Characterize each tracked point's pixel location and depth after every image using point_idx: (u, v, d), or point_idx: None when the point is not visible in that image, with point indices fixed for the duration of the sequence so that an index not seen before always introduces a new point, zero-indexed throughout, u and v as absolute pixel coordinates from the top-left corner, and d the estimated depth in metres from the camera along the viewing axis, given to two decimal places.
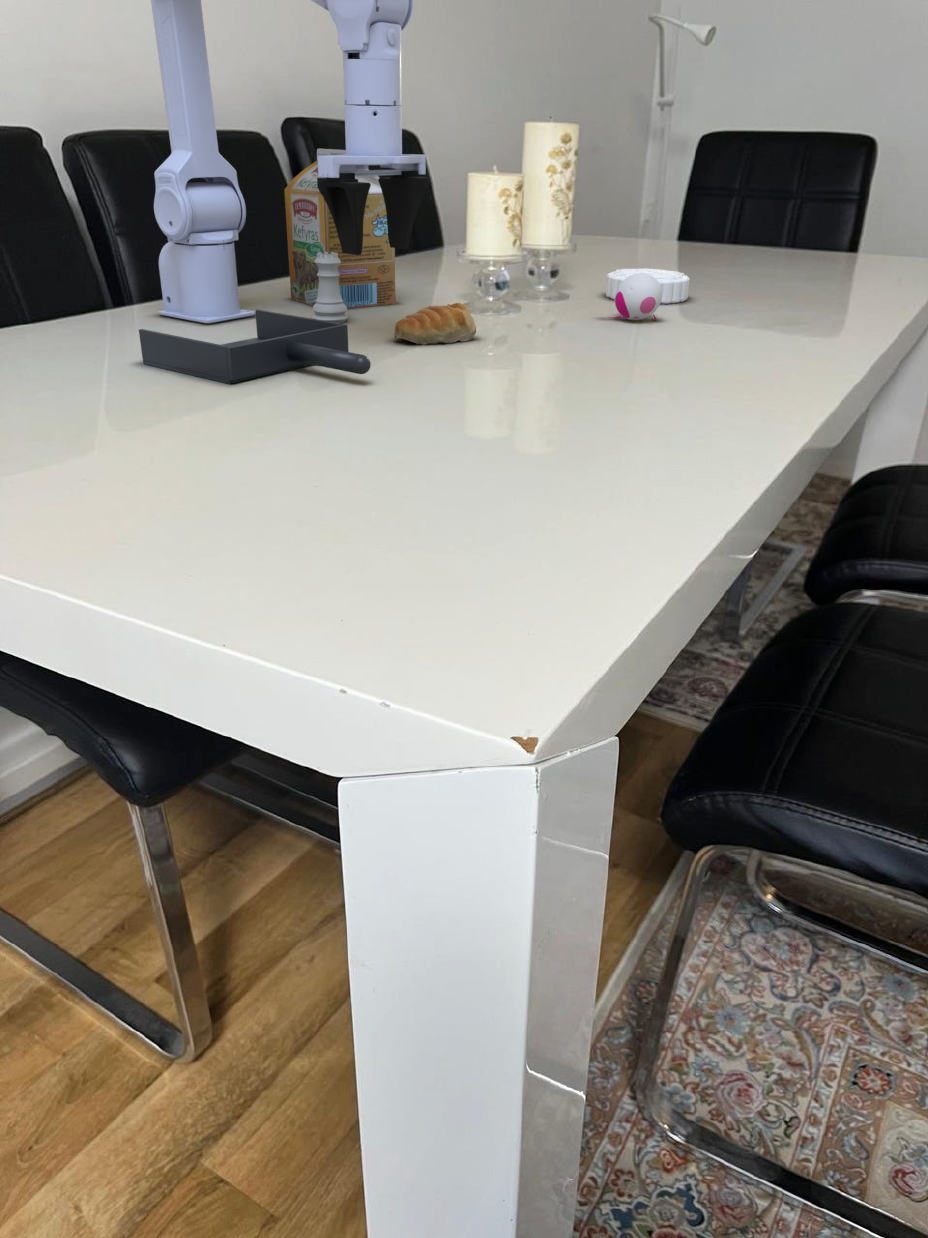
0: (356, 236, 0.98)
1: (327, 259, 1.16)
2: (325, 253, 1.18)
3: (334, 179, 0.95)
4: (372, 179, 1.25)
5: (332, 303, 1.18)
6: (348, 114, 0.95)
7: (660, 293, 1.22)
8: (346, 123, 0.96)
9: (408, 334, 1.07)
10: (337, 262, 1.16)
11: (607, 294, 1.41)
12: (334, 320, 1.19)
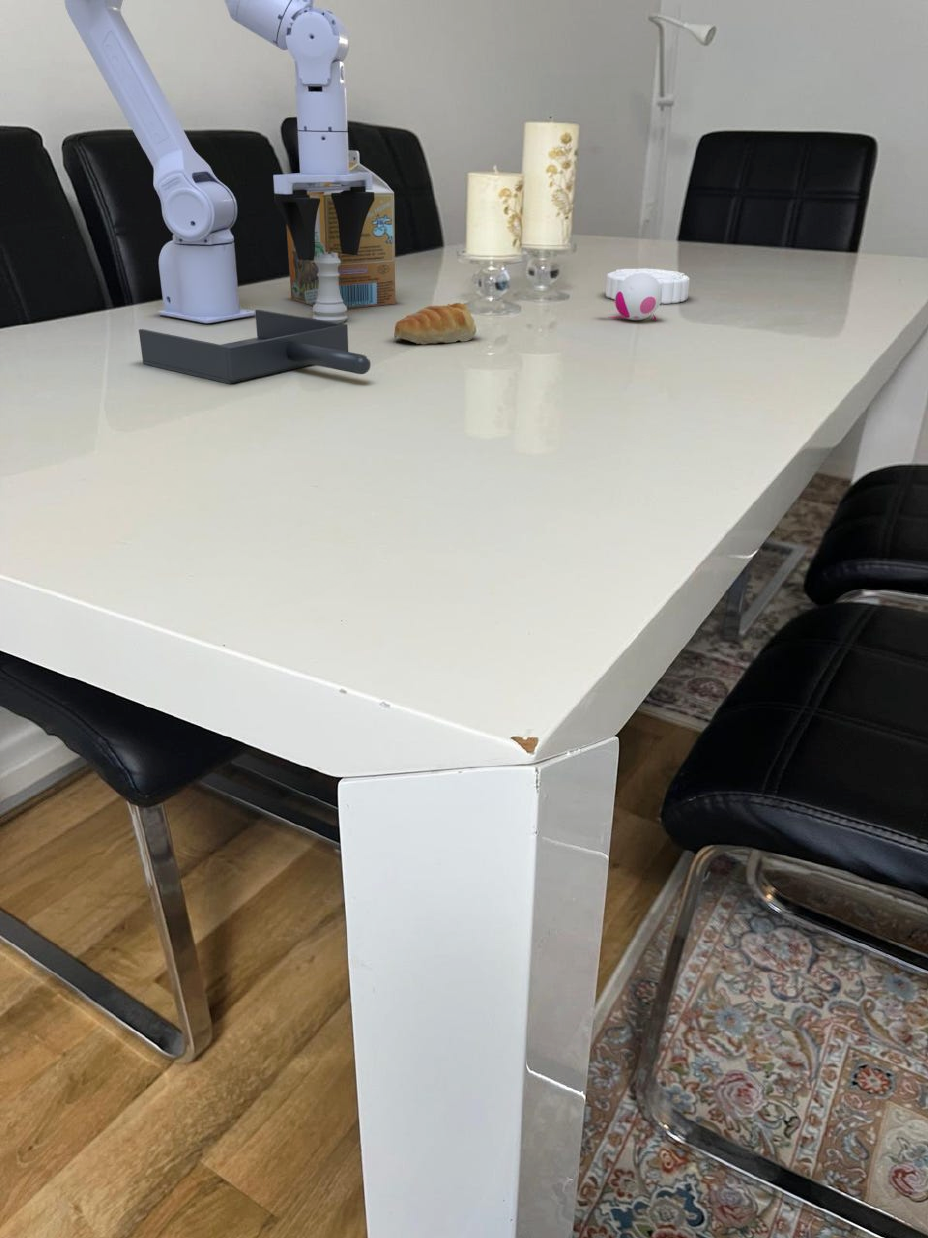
0: (309, 244, 1.12)
1: (327, 259, 1.16)
2: (325, 253, 1.18)
3: (288, 195, 1.09)
4: (372, 179, 1.25)
5: (332, 303, 1.18)
6: (300, 138, 1.09)
7: (660, 293, 1.22)
8: (299, 146, 1.10)
9: (408, 334, 1.07)
10: (337, 262, 1.16)
11: (607, 294, 1.41)
12: (334, 320, 1.19)
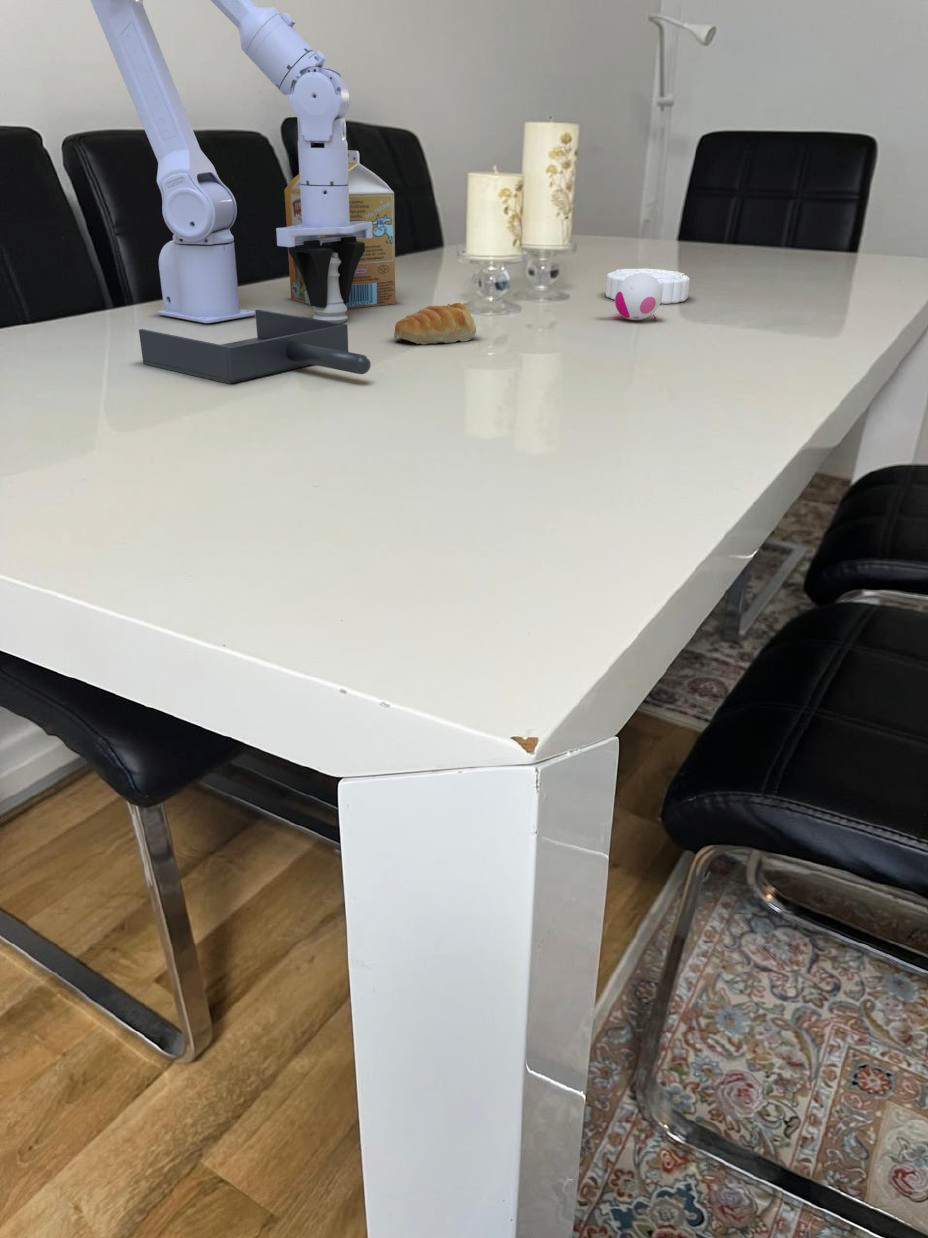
0: (321, 292, 1.16)
1: None
2: None
3: (302, 246, 1.13)
4: (372, 179, 1.25)
5: (332, 303, 1.18)
6: (303, 192, 1.12)
7: (660, 293, 1.22)
8: (301, 199, 1.13)
9: (408, 334, 1.07)
10: (337, 262, 1.16)
11: (607, 294, 1.41)
12: (334, 320, 1.19)
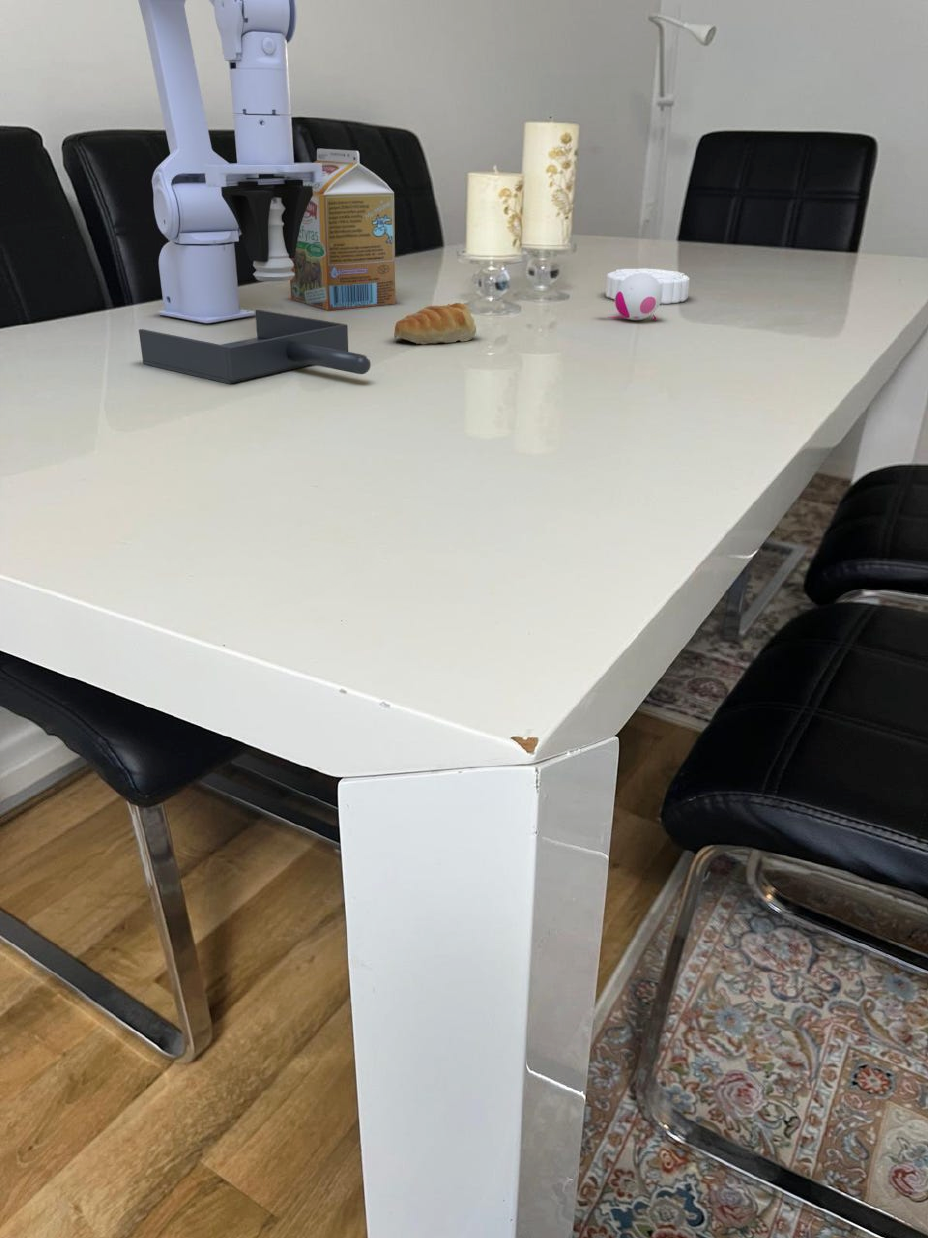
0: (261, 243, 0.99)
1: None
2: None
3: (236, 187, 0.96)
4: (372, 179, 1.25)
5: (275, 257, 1.01)
6: (236, 123, 0.95)
7: (660, 293, 1.22)
8: (235, 132, 0.96)
9: (408, 334, 1.07)
10: (280, 208, 0.99)
11: (607, 294, 1.41)
12: (278, 277, 1.01)
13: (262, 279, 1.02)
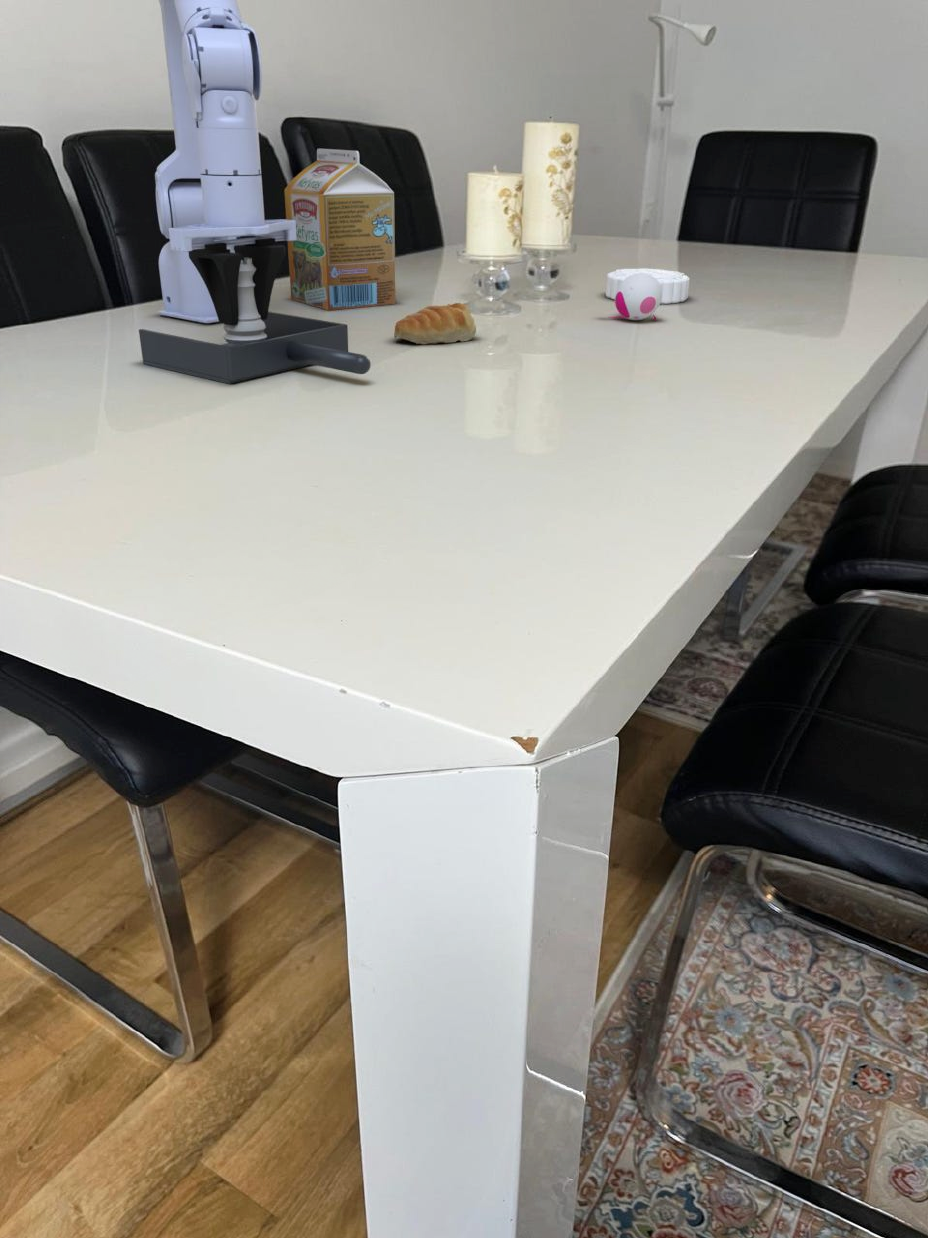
0: (230, 307, 0.95)
1: None
2: None
3: (203, 250, 0.92)
4: (372, 179, 1.25)
5: (246, 320, 0.97)
6: (203, 184, 0.91)
7: (660, 293, 1.22)
8: (202, 192, 0.92)
9: (408, 334, 1.07)
10: (251, 270, 0.95)
11: (607, 294, 1.41)
12: (249, 340, 0.97)
13: (232, 342, 0.97)
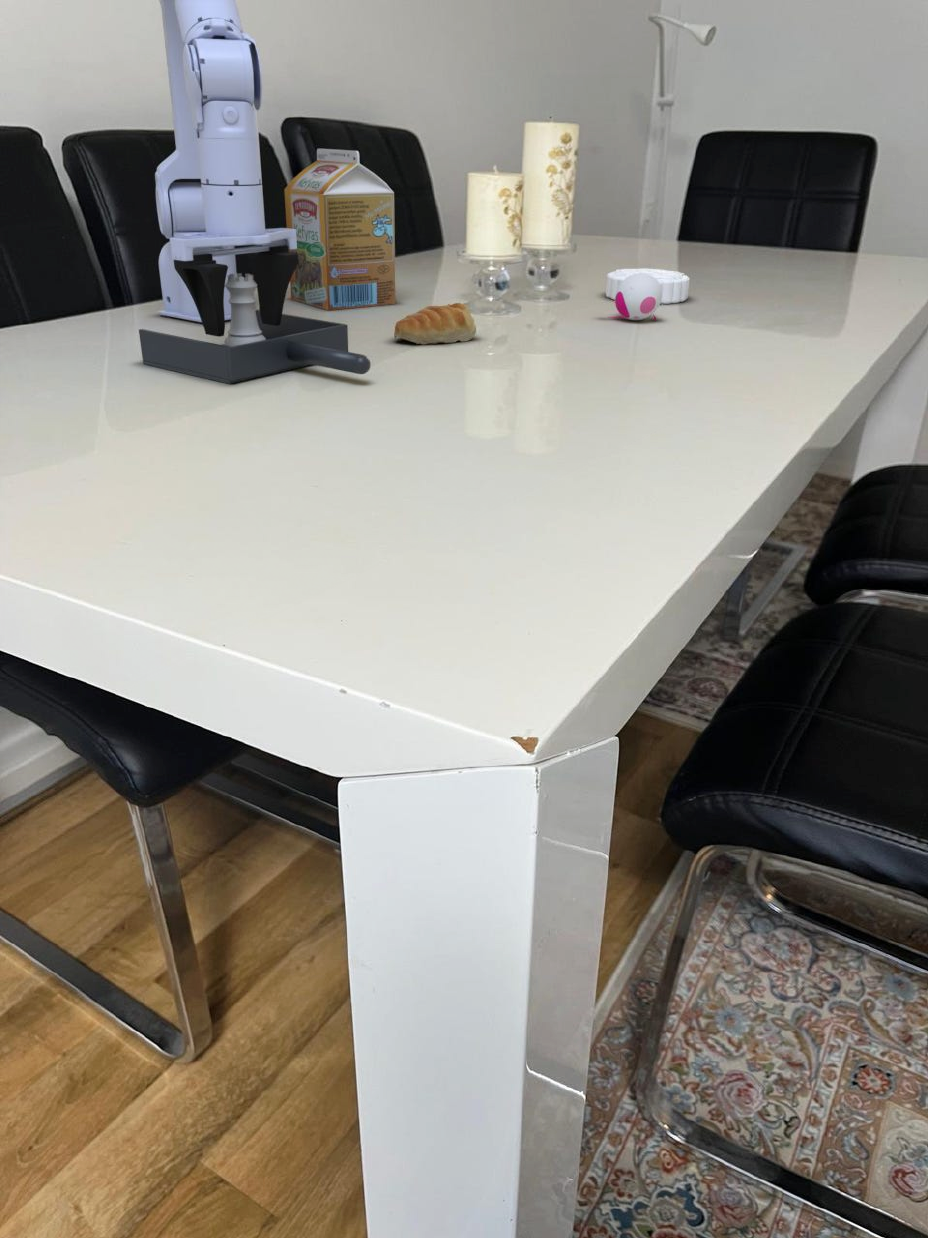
0: (217, 318, 0.94)
1: (239, 283, 0.95)
2: (238, 275, 0.97)
3: (189, 261, 0.91)
4: (372, 179, 1.25)
5: (247, 336, 0.97)
6: (204, 193, 0.91)
7: (660, 293, 1.22)
8: (203, 202, 0.92)
9: (408, 334, 1.07)
10: (252, 286, 0.96)
11: (607, 294, 1.41)
12: None
13: None
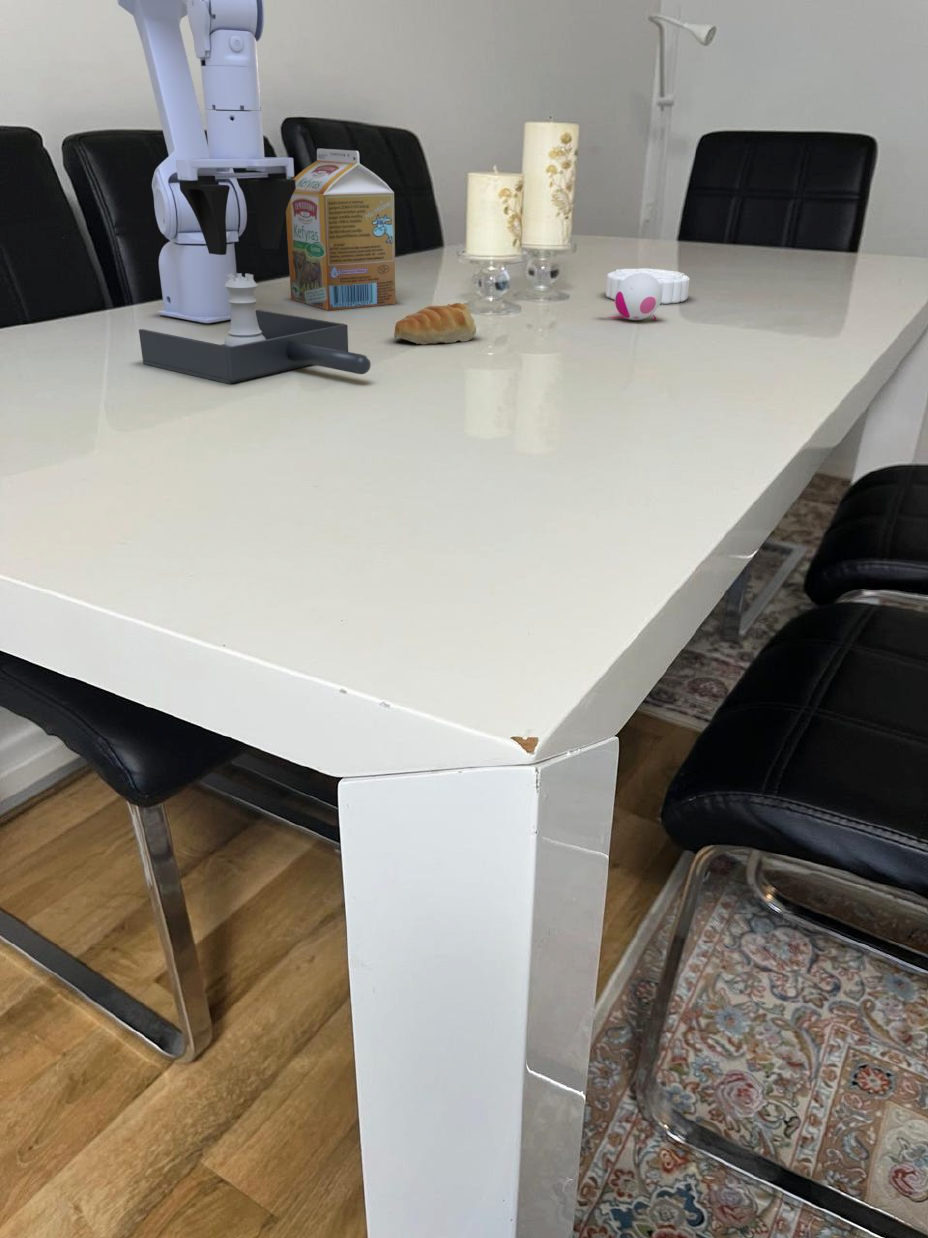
0: (219, 237, 1.01)
1: (239, 283, 0.95)
2: (238, 275, 0.97)
3: (193, 182, 0.98)
4: (372, 179, 1.25)
5: (247, 336, 0.97)
6: (207, 119, 0.98)
7: (660, 293, 1.22)
8: (207, 127, 0.99)
9: (408, 334, 1.08)
10: (252, 286, 0.96)
11: (607, 294, 1.41)
12: None
13: None
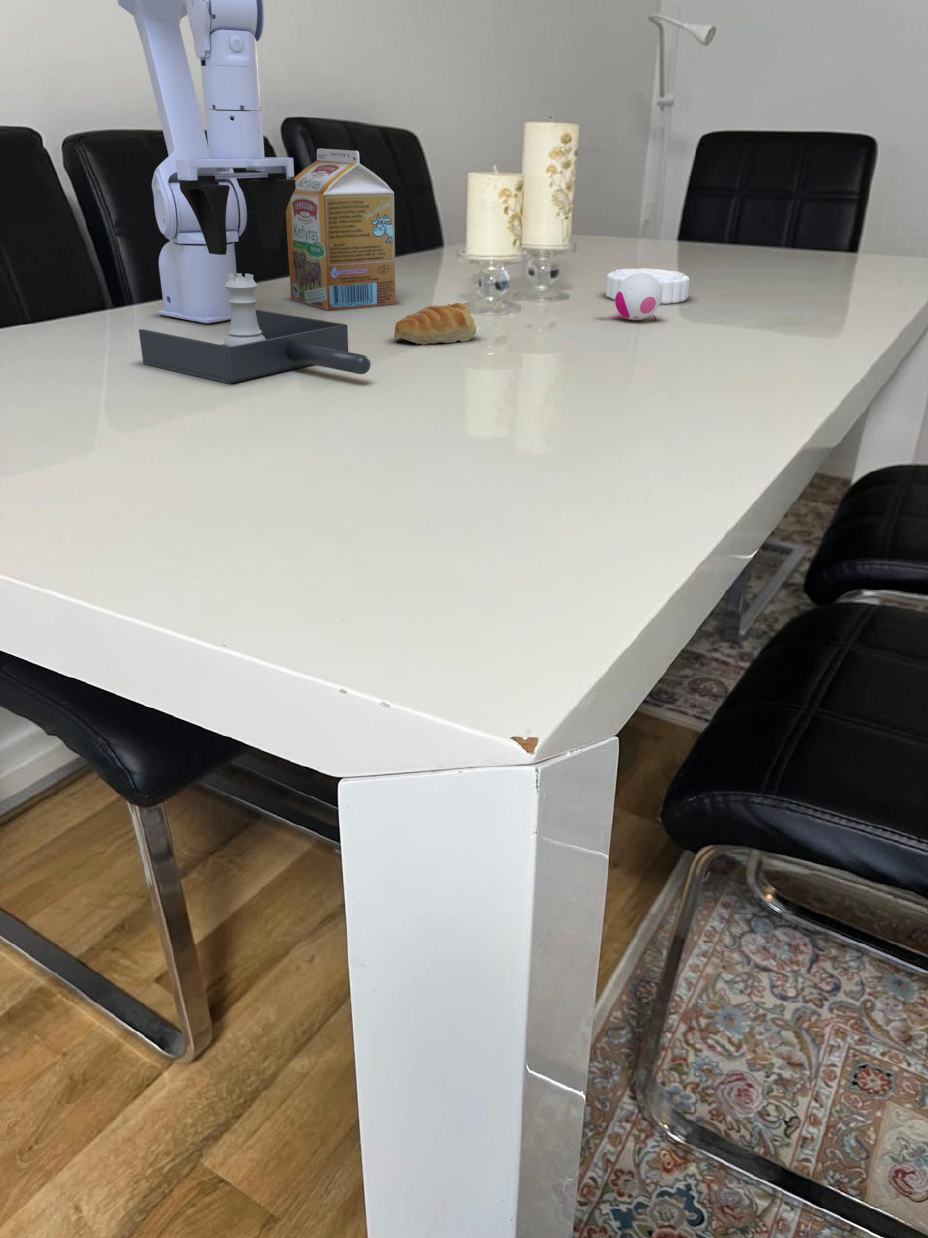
0: (219, 237, 1.01)
1: (239, 283, 0.95)
2: (238, 275, 0.97)
3: (193, 182, 0.98)
4: (372, 179, 1.25)
5: (247, 336, 0.97)
6: (207, 119, 0.98)
7: (660, 293, 1.22)
8: (207, 127, 0.99)
9: (408, 334, 1.08)
10: (252, 286, 0.96)
11: (607, 294, 1.41)
12: None
13: None
